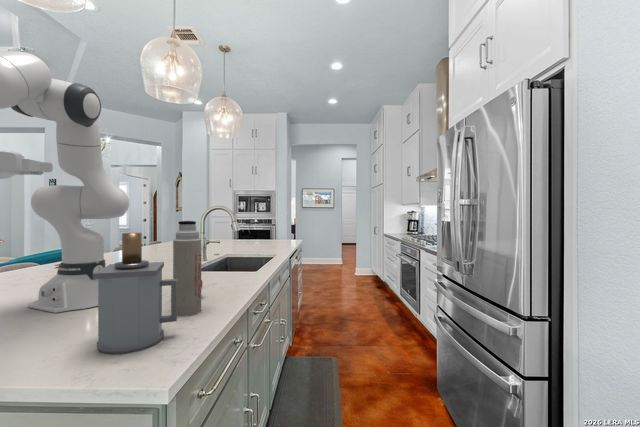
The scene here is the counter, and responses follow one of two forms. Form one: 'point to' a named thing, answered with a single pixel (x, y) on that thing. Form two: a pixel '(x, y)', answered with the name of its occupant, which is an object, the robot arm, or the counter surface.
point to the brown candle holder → (131, 252)
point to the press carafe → (132, 307)
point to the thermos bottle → (187, 268)
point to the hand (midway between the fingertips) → (47, 169)
